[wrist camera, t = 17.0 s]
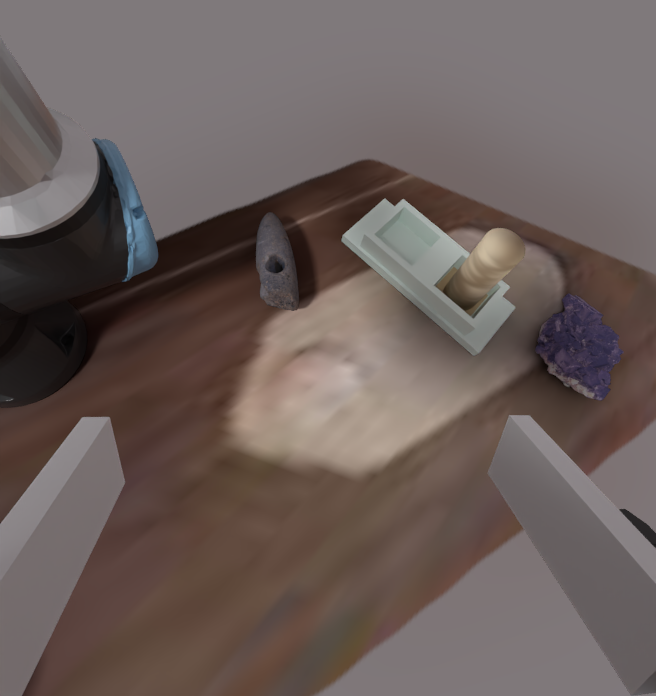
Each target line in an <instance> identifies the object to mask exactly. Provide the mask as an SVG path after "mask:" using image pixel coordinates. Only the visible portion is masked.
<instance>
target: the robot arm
mask: <svg viewBox="0 0 656 696" xmlns="http://www.w3.org/2000/svg"><path fill="white" fill-rule="evenodd" d="M157 260H158V249H157V244H156V241H155V238H154V234H153V232H152V228H151V226H150V223H149V220H148V218H147V215H146V213H145V211H144V210H143V206H142V203H141V200H140V196H139V194H138V191H137V189H136V186H135V184H134V181H133V179H132V177H131V174H130V172H129V170H128V168H127V166H126V163H125V161H124V159H123V157H122V155H121V153H120V151H119V150H118V148H117V146H116V145H115V144H114V143H113V142H112V141H110V140H106V139H103V140H99V139H96V138H95V139H91V138H90V136H89V135H88V134H87V132H86V131H85V130H84V129H83V128H82V127H81V125H80V124H78V123H77V122H76V121H74V120H73V119H72V118H70V117H68V116H67V115H65V114H63V113H61V112H59V111H56V110H54V109H51V108H48V107H46V106H45V104H44V103H43V101H42V100H41V98H40V97H39V95H38V93H37V92H36V90H35V89H34V87H33V86H32V84H31V83H30V81H29V80H28V78H27V77H26V75H25V74H24V72H23V71H22V69H21V67H20V66H19V64H18V63H17V61H16V60H15V58H14V56H13V55H12V53H11V52H10V50H9V49H8V47H7V46H6V44H5V43H4V41H3V40H2V38H1V36H0V407H1V408H10V407H18V406H24V405H28V404H31V403H34V402H37V401H39V400H41V399H43V398H45V397H47V396H49V395H51V394H52V393H54V392H55V391H57V390H58V389H59V388H61V387H62V386H63V385H64V384H65V383H66V382H67V381H68V380H69V379H70V378H71V377H72V376H73V375H74V373H75V372H76V370H77V369H78V367H79V366H80V364H81V362H82V359H83V357H84V354H85V351H86V346H87V331H86V326H85V323H84V320H83V318H82V316H81V315H80V313H79V312H78V310H77V309H76V308H75V307H74V306H73V305H72V304H70V303H69V302H68V301H67V300H70V299H73V298H75V297H78V296H81V295H84V294H87V293H90V292H93V291H96V290H99V289H102V288H105V287H107V286H110V285H113V284H116V283H119V282H125V281H128V280H129V279H131V277H133V276H135V275H138V274H140V273H142V272H145V271H147V270H149V269H151V268H152V267H153V266H154V265H155V264H156V262H157ZM488 474H489V476H490V477H491V479H492V480H493V482H494V484H495V485H496V487H497V488H498V490H499V491H500V493H501V494H502V496H503V498H504V499H505V501H506V502H507V504H508V505H509V507H510V508H511V510H512V512H513V513H514V515H515V516H516V518H517V519H518V521H519V522H520V524H521V525H522V527H523V529H524V530H525V532H526V533H527V535H528V536H529V538H530V539H531V541H532V543H533V544H534V546H535V547H536V549H537V550H538V552H539V553H540V555H541V556H542V558H543V560H544V561H545V563H546V564H547V566H548V567H549V569H550V570H551V572H552V574H553V575H554V577H555V578H556V580H557V581H558V583H559V584H560V586H561V588H562V589H563V591H564V592H565V594H566V595H567V597H568V598H569V600H570V601H571V603H572V605H573V606H574V608H575V609H576V611H577V612H578V614H579V615H580V617H581V619H582V620H583V622H584V623H585V625H586V626H587V628H588V629H589V631H590V632H591V634H592V636H593V637H594V639H595V640H596V642H597V643H598V645H599V646H600V648H601V650H602V651H603V653H604V654H605V656H606V657H607V659H608V660H609V662H610V663H611V665H612V667H613V668H614V670H615V671H616V673H617V674H618V676H619V678H620V679H621V680H622V682H623V684H624V685H625V687H626V688H627V690H628V691H629V693H630V695H641V694H649V693H656V533H655V532H654V531H653V530H652V529H651V528H650V527H649V526H648V525H647V524H646V523H644V522H643V521H642V520H640V519H639V518H637V517H636V516H634V515H633V514H632V513H630V512H629V511H627V510H626V509H618V508H617V507H616V506H615V505H614V504H613V503H612V502H611V501H610V500H609V499H608V498H607V497H606V496H605V495H604V494H603V493H602V491H601V490H600V489H599V488H598V487H597V486H596V485H595V484H594V483H593V482H592V481H591V480H590V479H589V478H588V477H587V476H586V475H585V474H584V472H583V471H582V470H581V469H580V468H579V467H578V466H577V465H576V464H575V463H574V462H573V461H572V460H571V459H570V458H569V457H568V456H567V455H566V453H565V452H564V451H563V450H562V449H561V448H560V447H559V446H558V445H557V444H556V443H555V442H554V441H553V440H552V439H551V438H550V437H549V436H548V434H547V433H546V432H545V431H544V430H543V429H542V428H541V427H540V426H539V425H538V424H537V423H536V422H535V421H534V420H533V419H532V418H531V417H530V416H529V415H509V417H508V420H507V423H506V425H505V428H504V431H503V434H502V436H501V439H500V442H499V444H498V447H497V450H496V452H495V455H494V458H493V460H492V463H491V466H490V468H489V471H488ZM124 484H125V480H124V476H123V472H122V467H121V463H120V459H119V455H118V451H117V446H116V442H115V438H114V434H113V429H112V425H111V421H110V417H82V418H81V420H80V421H79V422H78V424H77V425H76V426H75V428H74V429H73V430H72V431H71V433H70V434H69V435H68V437H67V438H66V439H65V441H64V442H63V443H62V445H61V446H60V447H59V448H58V450H57V451H56V452H55V454H54V455H53V456H52V458H51V459H50V460H49V461H48V463H47V464H46V465H45V467H44V468H43V469H42V471H41V472H40V473H39V474H38V476H37V477H36V478H35V480H34V481H33V482H32V484H31V485H30V486H29V487H28V489H27V490H26V491H25V493H24V494H23V495H22V497H21V498H20V499H19V500H18V502H17V503H16V504H15V506H14V507H13V508H12V510H11V511H10V512H9V514H8V515H7V516H6V517H5V519H4V520H3V521H2V523H1V524H0V696H22V695H23V693H24V690H25V688H26V686H27V684H28V682H29V680H30V678H31V676H32V674H33V672H34V670H35V668H36V666H37V664H38V662H39V659H40V657H41V655H42V653H43V651H44V649H45V647H46V645H47V643H48V641H49V639H50V637H51V635H52V633H53V631H54V628H55V626H56V624H57V622H58V620H59V618H60V616H61V614H62V612H63V610H64V608H65V606H66V604H67V602H68V600H69V597H70V595H71V593H72V591H73V589H74V587H75V585H76V583H77V581H78V579H79V577H80V575H81V573H82V571H83V569H84V566H85V564H86V562H87V560H88V558H89V556H90V554H91V552H92V550H93V548H94V546H95V544H96V542H97V540H98V538H99V535H100V533H101V531H102V529H103V527H104V525H105V523H106V521H107V519H108V517H109V515H110V513H111V511H112V509H113V507H114V504H115V502H116V500H117V498H118V496H119V494H120V492H121V490H122V488H123V486H124Z"/></svg>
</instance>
